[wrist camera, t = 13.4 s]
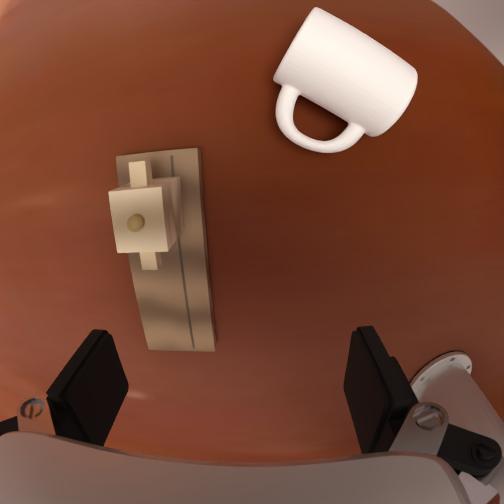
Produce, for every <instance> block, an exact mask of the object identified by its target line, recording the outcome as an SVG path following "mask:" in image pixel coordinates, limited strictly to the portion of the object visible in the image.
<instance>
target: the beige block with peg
mask: <svg viewBox="0 0 504 504" xmlns="http://www.w3.org/2000/svg"><path fill="white" fill-rule="evenodd" d="M129 173H130V183H128V184H126V185H123V186H121V187H118V188H116V189H114V190H111V191H109V200H110V208H111V215H112V222H113V229H114V235H115V241H116V247H117V252H118V253H134V252H139V253H140V259H141V265H142V270H158V269H159V267H160V266H161V264H162V259H161V252H168V251H169V250H170V248H171V247H172V246H173V244H174V243H175V241H176V240H177V239H178V237H179V236H180V235H181V233H182V232H183V230H184V229H185V228H184V218H183V207H182V194H181V181H180V177H167V178H155V179H152V169H151V159H148V160H139V161H133V162H129Z"/></svg>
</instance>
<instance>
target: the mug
mask: <svg viewBox="0 0 504 504" xmlns="http://www.w3.org/2000/svg"><path fill="white" fill-rule="evenodd" d="M273 81H274V82H276V83H278V84H280V85H282V88H281V91H280V93H279V96H278V99H277V103H276V120H277V123H278V126H279V128H280V130H281V131H282V132H283V134H284V135H285V136H286V137H287V138H288V139H289V140H291V141H292V142H294V143H295V144H297V145H299V146H301V147H303V148H306V149H309V150H312V151H316V152H322V153H335V152H340V151H343V150H345V149H347V148H349V147H351V146H352V145H354V144H355V143H356V142H357V141H358V140H359V139H360V138H361V136H362V135H363V134H364V133H365V134H367V135H368V136H371V137H374V136H378V135H380V134H382V133H384V132H385V131H386V130H388V129H389V128H390V127H391V126H392V125H393V124H394V123H395V122H396V121H397V120H398V119H399V117H400V116H401V115H402V113H403V112H404V111H405V109H406V108H407V106H408V104H409V103H410V101H411V99H412V97H413V94H414V92H415V89H416V85H417V72H416V70H415V69H414V68H413V67H412V66H411V65H409V64H408V63H407V62H405V61H404V60H403V59H401V58H400V57H398V56H397V55H396V54H394V53H393V52H391V51H390V50H389V49H387V48H386V47H384V46H383V45H381V44H380V43H378V42H377V41H375V40H374V39H372V38H370V37H369V36H367V35H366V34H364V33H362V32H361V31H359V30H358V29H356V28H354V27H353V26H351V25H349V24H347V23H346V22H344V21H342V20H340V19H339V18H337V17H335V16H333V15H331V14H329V13H327V12H326V11H324V10H322V9H320V8H318V7H315V8H313V10H312V11H311V12H310V14H309V15H308V17H307V18H306V20H305V22H304V23H303V25H302V26H301V28H300V30H299V31H298V33H297V35H296V36H295V38H294V40H293V42H292V43H291V45H290V47H289V49H288V50H287V52H286V54H285V56H284V58H283V59H282V61H281V63H280V65H279V67H278V69H277V71H276V73H275V75H274V77H273ZM299 95H301V96H303V97H305V98H307V99H309V100H310V101H312V102H314V103H316V104H318V105H319V106H321V107H323V108H325V109H326V110H328V111H330V112H331V113H333V114H335V115H337V116H338V117H340V118H341V119H343V120H345V121H346V122H348V126H347V127H346V129H345V130H344V131H343V132H342V133H341V134H340V135H339V136H338V137H336V138H334V139H332V140H329V141H318V140H315V139H312V138H309V137H307V136H305V135H303V134H302V133H300V132H299V131H298V130H297V129H296V127H295V125H294V122H293V110H294V106H295V102H296V100H297V97H298V96H299Z"/></svg>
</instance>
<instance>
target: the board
mask: <svg viewBox="0 0 504 504" xmlns="http://www.w3.org/2000/svg"><path fill="white" fill-rule="evenodd" d="M148 159H151V169H152V179H155V178H167V177H180V181H181V194H182V207H183V218H184V228H185V229H184V230H183V232H182V233H181V235H180V236H179V237H178V239H177V240H176V241H175V243H174V244H173V246H172V247H171V248H170V250H169V251H168V252H161V259H162V264H161V266H160V267H159V269H158V270H142V265H141V259H140V253H139V252H134V253H128V256H129V262H130V268H131V273H132V278H133V283H134V288H135V293H136V298H137V302H138V307H139V311H140V316H141V320H142V324H143V328H144V332H145V337H146V340H147V344H148V348H149V350H170V351H215V348H216V332H215V323H214V313H213V304H212V293H211V283H210V272H209V261H208V249H207V237H206V224H205V210H204V195H203V179H202V161H201V147H198V148H185V149H174V150H163V151H154V152H145V153H137V154H129V155H122V156H117V157H116V163H117V175H118V185H119V187H121V186H123V185H126V184H128V183H130V173H129V162H133V161H139V160H148Z"/></svg>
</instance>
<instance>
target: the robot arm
mask: <svg viewBox="0 0 504 504" xmlns="http://www.w3.org/2000/svg"><path fill="white" fill-rule="evenodd" d="M471 369H472V362H471V359H470V358H469V357H468V356H467V355H466V354H465V353H463V352H458V351H455V352H450V353H447V354H444V355H442V356H440V357H438V358H436V359H434V360H433V361H431V362H430V363H429V364H427V365H426V366H425V367H424V368H423V369H422V370H420V371H419V372H418V374H417V375H416V376H415V377H414V378H413V380H412V381H411V383H409V382H408V380H407V378H406V376H405V374H404V372H403V370H402V369H401V367H400V365H399V363H398V361H397V360H396V358H395V357H390V356H389V355H388V353H387V351H386V349H385V347H384V345H383V343H382V342H381V340H380V338H379V336H378V334H377V333H376V331H375V329H374V327H373V326H363V327H358V328H357V330H356V331H353V332H352V336H351V343H350V349H349V356H348V362H347V368H346V373H345V379H344V392H345V396H346V399H347V402H348V406H349V409H350V413H351V416H352V420H353V423H354V427H355V430H356V434H357V438H358V441H359V445H360V448H361V452H362V454H360V455H351V456H343V457H335V458H325V459H314V460H302V461H286V462H215V461H199V460H187V459H177V458H168V457H160V456H153V455H146V454H140V453H134V452H128V451H122V450H117V449H112V448H108V447H103V446H104V443H105V441H106V439H107V436H108V434H109V432H110V429H111V427H112V425H113V423H114V420H115V418H116V416H117V414H118V411H119V409H120V407H121V405H122V403H123V401H124V398H125V396H126V394H127V392H128V381H127V379H126V376H125V373H124V370H123V367H122V365H121V362H120V359H119V356H118V353H117V350H116V347H115V344H114V340H113V337H112V335H111V334H109V333H108V332H107V331H106V330H97V329H94V330H92V331H91V332H90V334H89V335H88V336H87V338H86V339H85V340H84V342H83V343H82V344H81V345H80V347H79V348H78V349H77V351H76V352H75V353H74V355H73V356H72V357H71V359H70V360H69V361H68V363H67V364H66V366H65V367H64V368H63V370H62V371H61V372H60V374H59V375H58V377H57V378H56V379H55V381H54V382H53V384H52V385H51V386H50V388H49V389H48V391H47V392H46V393H47V395H48V397H47V398H46V399H45V398H44V397H42V396H37V395H34V396H30V397H27V398H25V399H24V400H23V401H22V402H21V403H20V404H19V406H18V408H17V416H15V417H13V418H10V419H7V420H4V421H2V422H0V504H504V423H503V422H502V420H501V419H500V417H499V416H498V414H497V413H496V411H495V410H494V408H493V407H492V405H491V404H490V402H489V401H488V399H487V398H486V397H485V395H484V394H483V392H482V391H481V389H480V388H479V387H478V385H477V384H476V382H475V381H474V380H473V378H472V377H471V376H470V373H471Z"/></svg>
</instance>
